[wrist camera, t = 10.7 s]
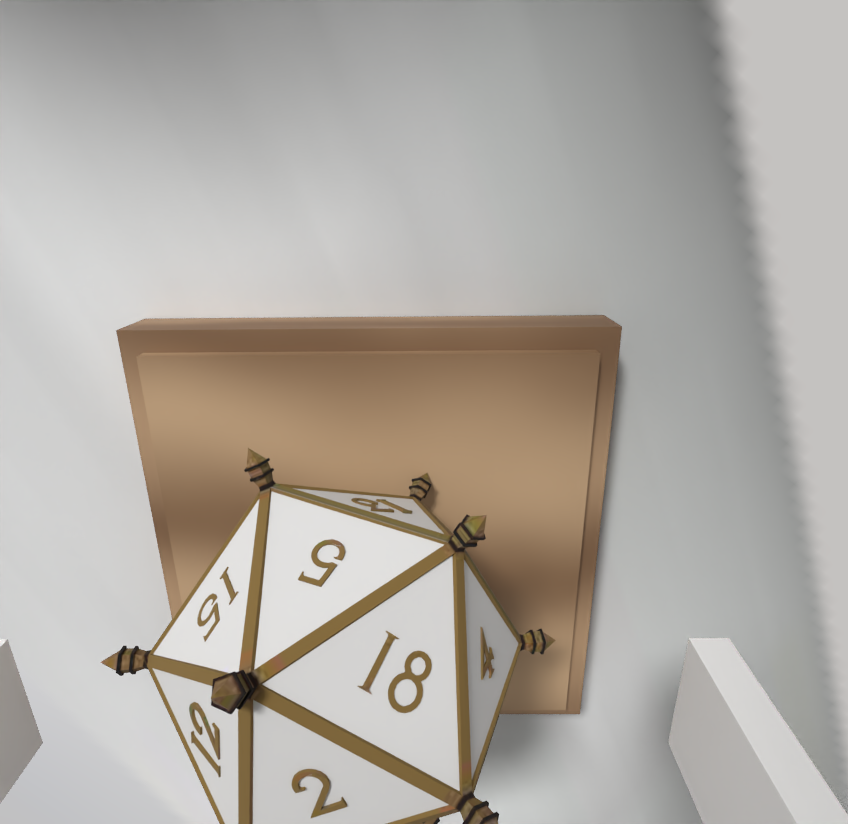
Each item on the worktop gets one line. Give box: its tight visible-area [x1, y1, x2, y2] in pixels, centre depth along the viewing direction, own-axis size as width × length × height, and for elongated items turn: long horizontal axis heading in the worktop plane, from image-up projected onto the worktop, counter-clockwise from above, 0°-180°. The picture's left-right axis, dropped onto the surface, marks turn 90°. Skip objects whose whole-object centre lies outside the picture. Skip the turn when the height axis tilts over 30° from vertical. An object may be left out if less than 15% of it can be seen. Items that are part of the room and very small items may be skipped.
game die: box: [101, 448, 556, 824], centre depth 13 cm, size 9×8×10 cm
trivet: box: [116, 315, 622, 714], centre depth 18 cm, size 13×13×2 cm
